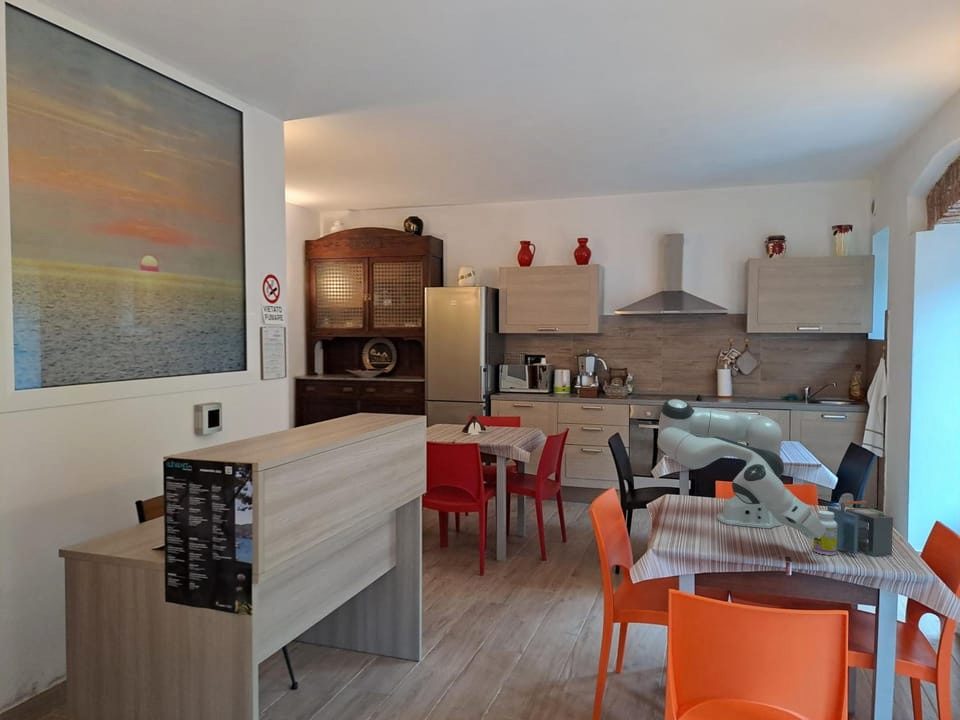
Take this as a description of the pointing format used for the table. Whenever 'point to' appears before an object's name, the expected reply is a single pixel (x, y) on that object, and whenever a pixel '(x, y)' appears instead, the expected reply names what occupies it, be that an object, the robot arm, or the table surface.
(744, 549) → the table surface
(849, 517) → the gauge plunger
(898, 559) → the table surface
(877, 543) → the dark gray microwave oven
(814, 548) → the supplement bottle
